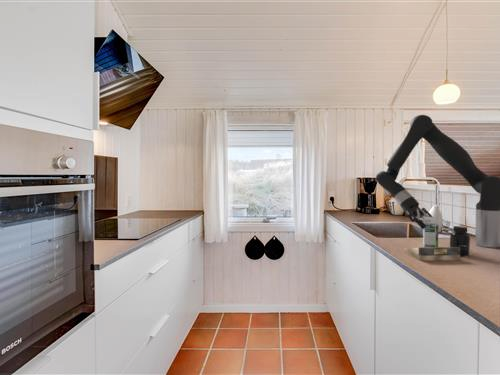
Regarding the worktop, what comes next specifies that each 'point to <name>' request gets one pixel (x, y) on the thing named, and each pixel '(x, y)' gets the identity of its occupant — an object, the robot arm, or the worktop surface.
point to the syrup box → (430, 232)
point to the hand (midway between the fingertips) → (429, 226)
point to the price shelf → (434, 253)
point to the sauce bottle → (436, 213)
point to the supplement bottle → (460, 240)
